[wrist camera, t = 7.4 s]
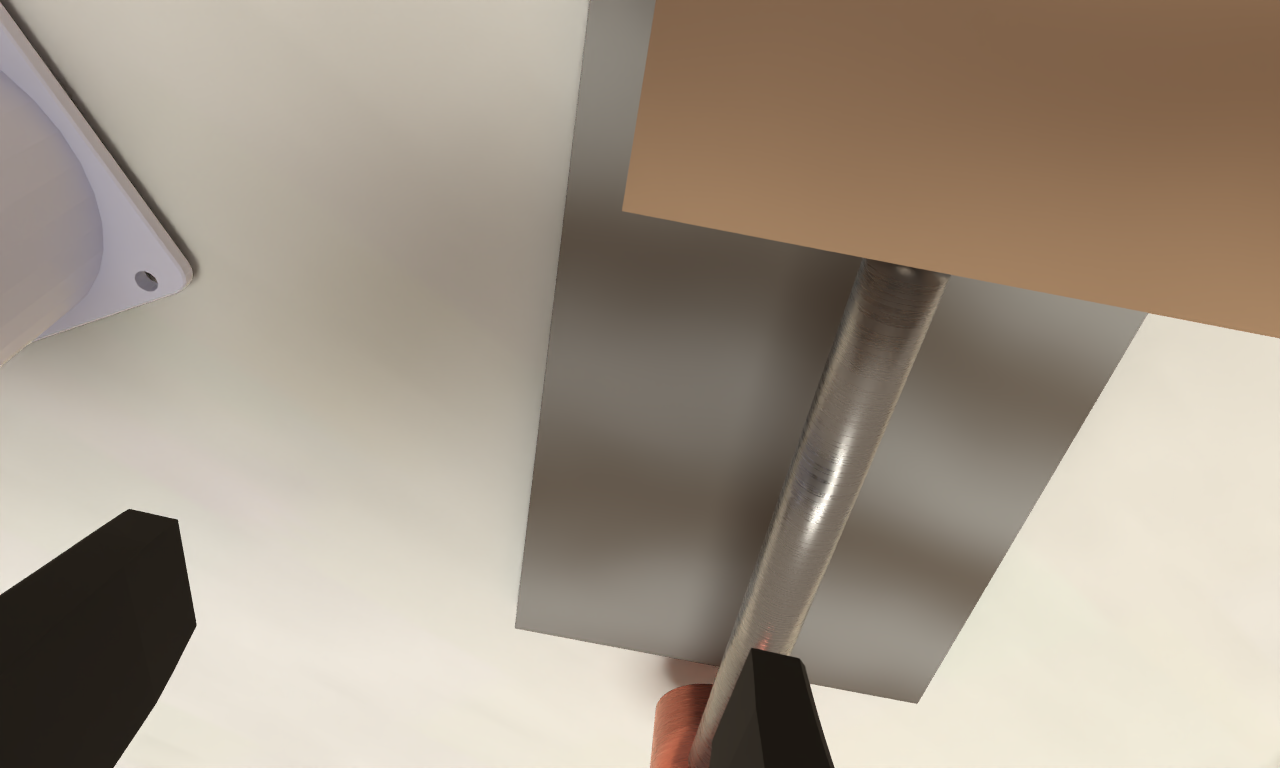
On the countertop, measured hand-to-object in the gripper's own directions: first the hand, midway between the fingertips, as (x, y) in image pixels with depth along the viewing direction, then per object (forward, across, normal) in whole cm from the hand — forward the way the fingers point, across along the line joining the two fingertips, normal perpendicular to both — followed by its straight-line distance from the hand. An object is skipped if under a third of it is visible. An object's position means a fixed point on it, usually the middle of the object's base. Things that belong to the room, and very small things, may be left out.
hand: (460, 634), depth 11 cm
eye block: (+10, -5, 0) cm, 12 cm away
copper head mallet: (+9, -5, +6) cm, 12 cm away
